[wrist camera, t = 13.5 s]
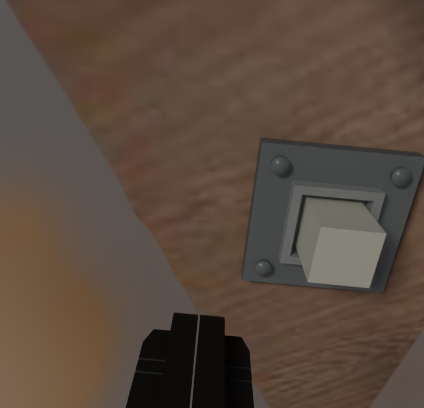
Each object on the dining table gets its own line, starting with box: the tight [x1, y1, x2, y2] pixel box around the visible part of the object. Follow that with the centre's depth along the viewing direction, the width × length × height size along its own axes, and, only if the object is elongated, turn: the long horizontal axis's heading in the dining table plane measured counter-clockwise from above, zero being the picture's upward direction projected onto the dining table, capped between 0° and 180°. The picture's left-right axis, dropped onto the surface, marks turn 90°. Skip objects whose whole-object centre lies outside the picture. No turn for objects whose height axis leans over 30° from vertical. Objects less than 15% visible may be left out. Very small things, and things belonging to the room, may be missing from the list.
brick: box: [295, 196, 386, 288], centre depth 33 cm, size 5×5×6 cm
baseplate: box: [242, 138, 424, 293], centre depth 36 cm, size 14×14×3 cm
